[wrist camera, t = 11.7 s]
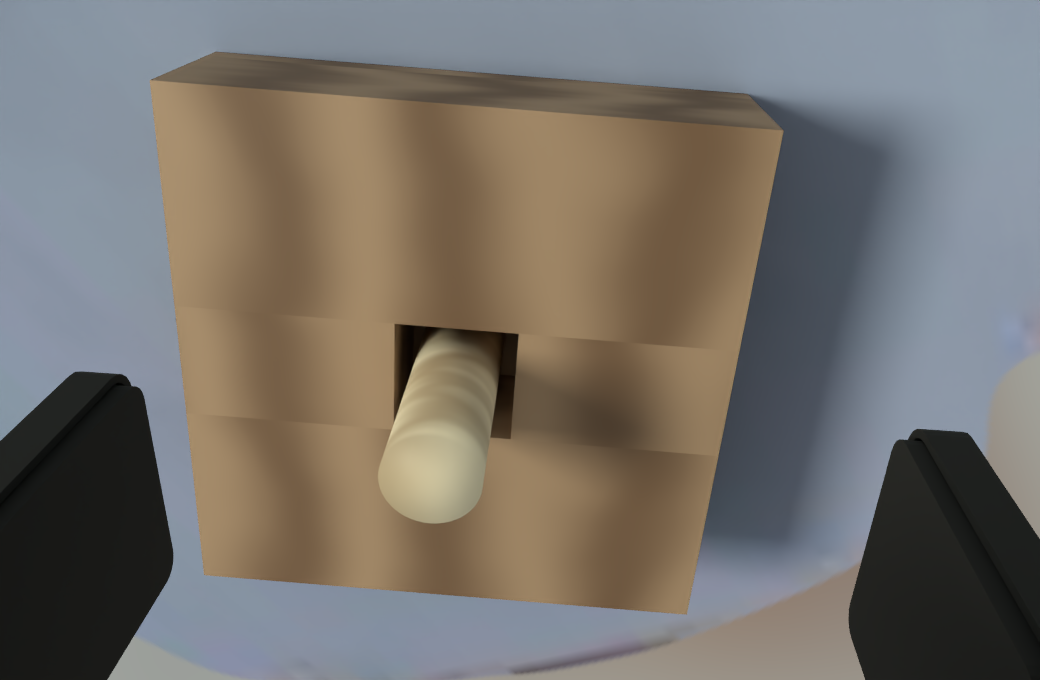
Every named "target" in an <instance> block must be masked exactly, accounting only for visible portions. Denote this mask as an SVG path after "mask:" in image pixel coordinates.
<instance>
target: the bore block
mask: <svg viewBox="0 0 1040 680" xmlns="http://www.w3.org/2000/svg"><path fill="white" fill-rule="evenodd" d="M150 86H151V95H152V104H153V114H154V123H155V132H156V141H157V150H158V159H159V168H160V177H161V186H162V195H163V204H164V214H165V223H166V232H167V241H168V250H169V259H170V268H171V277H172V286H173V295H174V304H175V314H176V323H177V332H178V341H179V350H180V359H181V368H182V377H183V386H184V395H185V405H186V414H187V423H188V432H189V441H190V450H191V459H192V468H193V477H194V486H195V495H196V505H197V514H198V523H199V532H200V541H201V550H202V559H203V568H204V575H210V576H222V577H235V578H247V579H259V580H271V581H283V582H296V583H308V584H320V585H332V586H345V587H357V588H369V589H381V590H394V591H406V592H418V593H430V594H442V595H455V596H467V597H479V598H491V599H504V600H516V601H528V602H540V603H553V604H565V605H577V606H589V607H602V608H614V609H626V610H638V611H650V612H663V613H675V614H687V610H688V605H689V600H690V595H691V590H692V585H693V580H694V575H695V570H696V565H697V560H698V555H699V550H700V545H701V540H702V535H703V530H704V525H705V520H706V515H707V510H708V505H709V500H710V495H711V490H712V485H713V480H714V475H715V471H716V466H717V461H718V456H719V451H720V446H721V441H722V436H723V431H724V426H725V421H726V416H727V411H728V406H729V401H730V396H731V391H732V386H733V381H734V376H735V371H736V366H737V361H738V356H739V351H740V346H741V341H742V336H743V331H744V326H745V321H746V316H747V311H748V306H749V301H750V296H751V291H752V286H753V281H754V276H755V271H756V266H757V261H758V256H759V251H760V246H761V241H762V236H763V231H764V226H765V221H766V216H767V211H768V206H769V201H770V196H771V191H772V186H773V181H774V176H775V171H776V166H777V161H778V156H779V151H780V146H781V141H782V136H783V131H784V130H783V129H782V128H781V127H780V126H779V125H778V124H777V123H776V122H775V121H774V120H773V119H772V118H771V117H770V116H769V115H768V114H767V113H766V112H765V111H764V110H763V109H762V108H761V107H760V106H759V105H758V104H757V103H756V102H755V101H754V100H753V99H752V98H751V97H750V96H749V95H748V94H741V93H729V92H716V91H703V90H691V89H678V88H665V87H653V86H640V85H628V84H615V83H602V82H590V81H577V80H564V79H552V78H539V77H527V76H514V75H501V74H489V73H476V72H463V71H451V70H438V69H426V68H413V67H400V66H388V65H375V64H362V63H350V62H337V61H325V60H312V59H299V58H287V57H274V56H261V55H249V54H236V53H224V52H214V53H212V54H210V55H207V56H205V57H203V58H200V59H198V60H196V61H193V62H191V63H189V64H186V65H184V66H182V67H179V68H177V69H175V70H172V71H170V72H168V73H166V74H163V75H161V76H159V77H156V78H154V79H152V80H150ZM427 326H428V327H441V328H453V329H466V330H478V331H491V332H503V333H506V335H505V342H504V349H503V355H502V362H501V369H500V375H499V382H498V389H497V395H496V402H495V409H494V415H493V422H492V428H491V435H490V442H489V448H488V455H487V462H486V468H485V475H484V482H483V488H482V493H481V496H480V498H479V501H478V502H477V504H476V505H475V507H474V508H473V509H472V510H471V511H470V512H468V513H467V514H466V515H464V516H462V517H461V518H458V519H456V520H453V521H450V522H446V523H437V524H435V523H423V522H419V521H415V520H413V519H410V518H408V517H406V516H404V515H402V514H400V513H399V512H398V511H396V510H395V509H394V508H393V507H392V506H391V505H390V504H389V503H388V502H387V501H386V499H385V498H384V496H383V494H382V492H381V490H380V487H379V482H378V471H379V467H380V463H381V460H382V457H383V454H384V451H385V448H386V445H387V443H388V440H389V437H390V434H391V431H392V428H393V425H394V422H395V419H396V416H397V413H398V410H399V407H400V404H401V401H402V398H403V395H404V392H405V389H406V386H407V383H408V380H409V377H410V374H411V371H412V368H413V365H414V362H415V359H416V356H417V353H418V350H419V347H420V344H421V341H422V339H423V336H424V333H425V330H426V327H427Z"/></svg>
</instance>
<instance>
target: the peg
mask: <svg viewBox="0 0 1040 680" xmlns="http://www.w3.org/2000/svg"><path fill="white" fill-rule="evenodd" d="M505 335H506V333H503V332H491V331H478V330H466V329H453V328H441V327H428V326H427V327H426V330H425V333H424V336H423V339H422V341H421V344H420V347H419V350H418V353H417V356H416V359H415V362H414V365H413V368H412V371H411V374H410V377H409V380H408V383H407V386H406V389H405V392H404V395H403V398H402V401H401V404H400V407H399V410H398V413H397V416H396V419H395V422H394V425H393V428H392V431H391V434H390V437H389V440H388V443H387V445H386V448H385V451H384V454H383V457H382V460H381V463H380V467H379V471H378V482H379V487H380V490H381V492H382V494H383V496H384V498H385V499H386V501H387V502H388V503H389V504H390V505H391V506H392V507H393V508H394V509H395V510H396V511H398V512H399V513H400V514H402V515H404V516H406V517H408V518H410V519H413V520H415V521H419V522H423V523H435V524H437V523H446V522H450V521H453V520H456V519H458V518H461V517H462V516H464V515H466V514H467V513H468V512H470V511H471V510H472V509H473V508H474V507H475V505H476V504H477V502H478V501H479V498H480V496H481V493H482V488H483V482H484V475H485V468H486V462H487V455H488V448H489V442H490V435H491V428H492V422H493V415H494V409H495V402H496V395H497V389H498V382H499V375H500V369H501V362H502V355H503V349H504V342H505Z"/></svg>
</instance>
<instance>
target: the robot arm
mask: <svg viewBox="0 0 1040 680" xmlns="http://www.w3.org/2000/svg"><path fill="white" fill-rule="evenodd" d="M172 565H173V548H172V542H171V537H170V532H169V526H168V521H167V516H166V511H165V505H164V500H163V495H162V489H161V484H160V479H159V474H158V468H157V463H156V458H155V452H154V447H153V442H152V437H151V431H150V426H149V421H148V415H147V410H146V405H145V399H144V396H143V393H142V391H141V390H140V388H138V387H133V386H131V383H130V382H129V380H128V379H127V377H125V376H124V375H122V374H109V373H95V372H75V373H73V374H71V375H70V376H69V377H68V378H67V379H65V380H64V381H63V382H62V383H61V384H60V385H59V386H58V387H57V388H56V389H55V390H54V391H53V392H52V393H51V394H50V395H49V396H47V397H46V398H45V399H44V400H43V401H42V402H41V403H40V404H39V405H38V406H37V407H36V408H35V409H34V410H33V411H32V412H31V413H29V414H28V415H27V416H26V417H25V418H24V419H23V420H22V421H21V422H20V423H19V424H18V425H17V426H16V427H15V428H14V429H13V430H11V431H10V432H9V433H8V434H7V435H6V436H5V437H4V438H3V439H2V440H1V441H0V680H107V679H108V678H109V676H110V674H111V673H112V671H113V669H114V668H115V666H116V664H117V663H118V661H119V659H120V658H121V656H122V655H123V653H124V651H125V650H126V648H127V646H128V645H129V643H130V641H131V640H132V638H133V637H134V635H135V633H136V632H137V630H138V628H139V627H140V625H141V624H142V622H143V620H144V619H145V617H146V615H147V614H148V612H149V610H150V609H151V607H152V606H153V604H154V602H155V601H156V599H157V597H158V596H159V594H160V592H161V591H162V589H163V588H164V586H165V584H166V583H167V581H168V579H169V577H170V573H171V570H172ZM849 629H850V634H851V638H852V641H853V644H854V647H855V650H856V653H857V656H858V659H859V662H860V665H861V668H862V671H863V674H864V677H865V680H1040V539H1039V537H1038V536H1037V534H1036V533H1035V531H1034V530H1033V528H1032V527H1031V525H1030V524H1029V522H1028V521H1027V520H1026V518H1025V516H1024V515H1023V513H1022V512H1021V510H1020V509H1019V508H1018V506H1017V504H1016V503H1015V501H1014V500H1013V499H1012V497H1011V496H1010V494H1009V493H1008V491H1007V490H1006V488H1005V487H1004V485H1003V484H1002V482H1001V481H1000V479H999V478H998V476H997V475H996V473H995V472H994V470H993V469H992V467H991V466H990V464H989V463H988V461H987V460H986V458H985V457H984V455H983V454H982V452H981V451H980V449H979V448H978V446H977V445H976V443H975V442H974V440H973V439H972V437H971V436H970V435H969V434H968V433H965V432H955V431H941V430H926V429H916V430H914V431H913V432H912V434H911V435H910V436H909V439H908V440H898V441H896V443H895V444H894V446H893V449H892V452H891V455H890V459H889V463H888V466H887V470H886V474H885V477H884V481H883V485H882V488H881V492H880V496H879V499H878V503H877V507H876V510H875V514H874V518H873V522H872V525H871V529H870V533H869V536H868V540H867V544H866V547H865V551H864V555H863V558H862V562H861V566H860V569H859V573H858V577H857V581H856V584H855V588H854V591H853V595H852V599H851V603H850V608H849Z"/></svg>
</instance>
